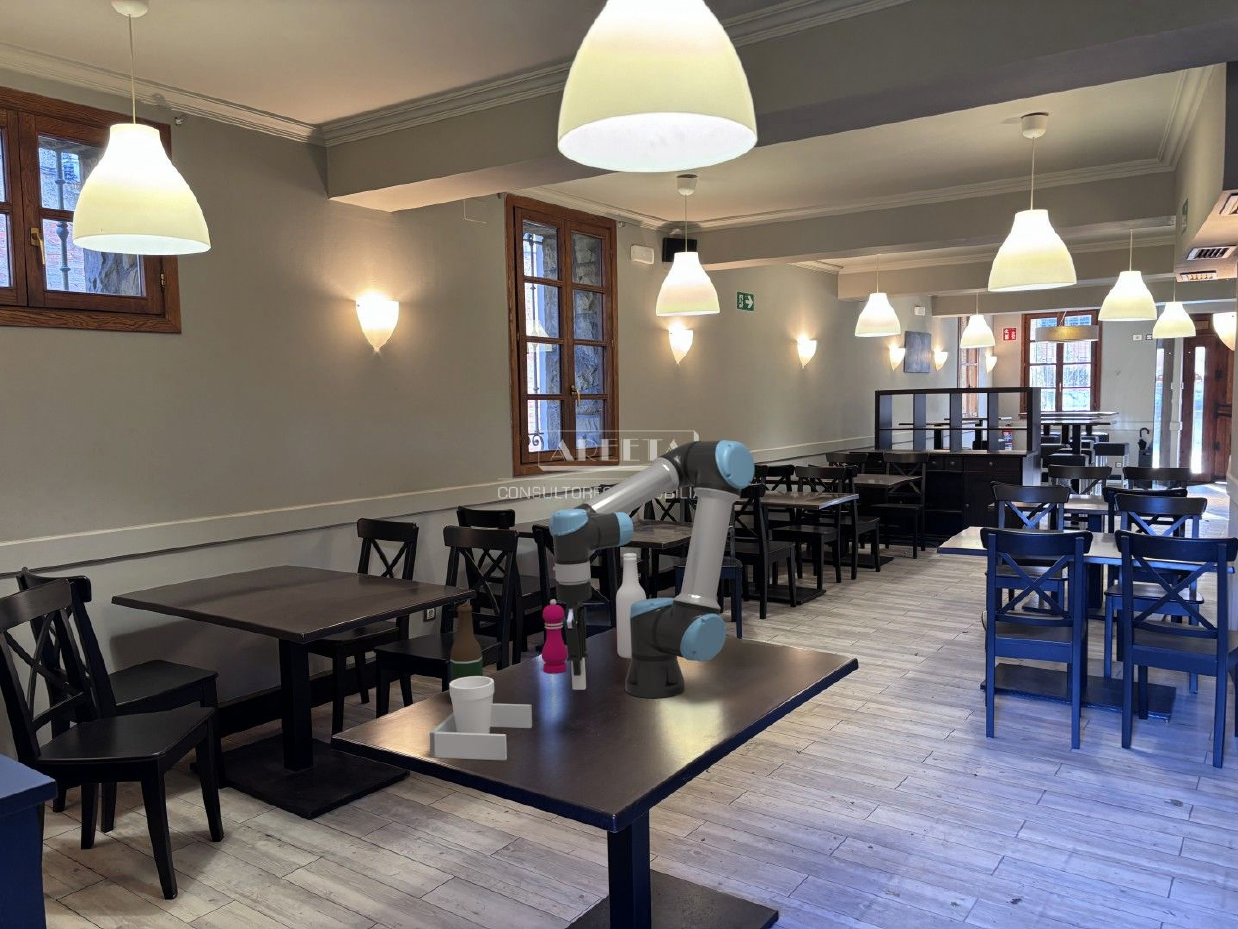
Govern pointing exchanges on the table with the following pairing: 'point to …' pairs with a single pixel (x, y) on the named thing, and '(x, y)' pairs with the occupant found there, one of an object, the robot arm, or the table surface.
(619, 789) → the table surface
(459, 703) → the foam cup
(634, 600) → the alcohol
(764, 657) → the table surface
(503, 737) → the box
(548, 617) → the pepper mill
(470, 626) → the beer bottle
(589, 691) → the table surface
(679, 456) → the robot arm
